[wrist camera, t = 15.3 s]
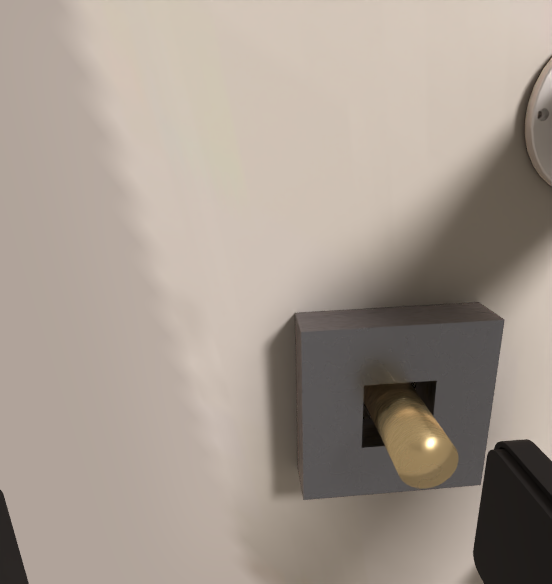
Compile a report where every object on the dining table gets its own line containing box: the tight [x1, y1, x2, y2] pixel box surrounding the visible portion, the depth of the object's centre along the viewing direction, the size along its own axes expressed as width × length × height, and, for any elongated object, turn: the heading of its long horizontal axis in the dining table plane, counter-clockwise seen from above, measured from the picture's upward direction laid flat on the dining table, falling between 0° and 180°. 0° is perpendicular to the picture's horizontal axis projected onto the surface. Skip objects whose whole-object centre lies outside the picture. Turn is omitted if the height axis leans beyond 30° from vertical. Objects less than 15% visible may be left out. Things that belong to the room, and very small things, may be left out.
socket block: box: [295, 302, 504, 500], centre depth 39 cm, size 16×16×4 cm
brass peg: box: [363, 382, 458, 489], centre depth 36 cm, size 4×4×10 cm
